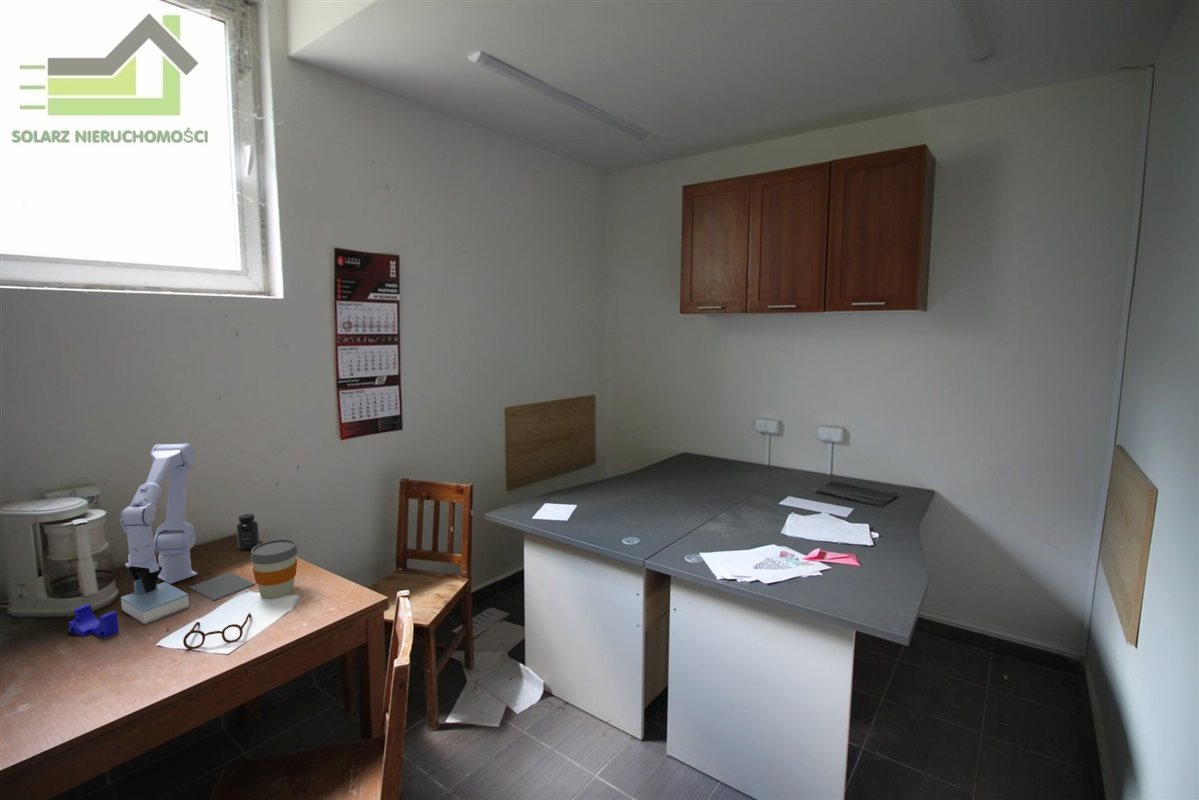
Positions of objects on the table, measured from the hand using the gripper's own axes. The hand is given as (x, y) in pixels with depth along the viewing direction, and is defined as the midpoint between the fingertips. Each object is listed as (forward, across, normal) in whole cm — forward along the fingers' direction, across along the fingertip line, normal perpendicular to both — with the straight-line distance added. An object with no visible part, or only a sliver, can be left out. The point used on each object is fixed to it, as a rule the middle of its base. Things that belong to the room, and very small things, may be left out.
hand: (146, 588), depth 164 cm
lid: (+1, +5, 0) cm, 5 cm away
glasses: (+6, +34, +3) cm, 34 cm away
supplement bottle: (+5, -17, +38) cm, 42 cm away
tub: (+5, +5, 0) cm, 7 cm away
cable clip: (+5, +5, -14) cm, 16 cm away
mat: (+5, +7, +17) cm, 19 cm away
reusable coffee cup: (+5, +25, +24) cm, 35 cm away
